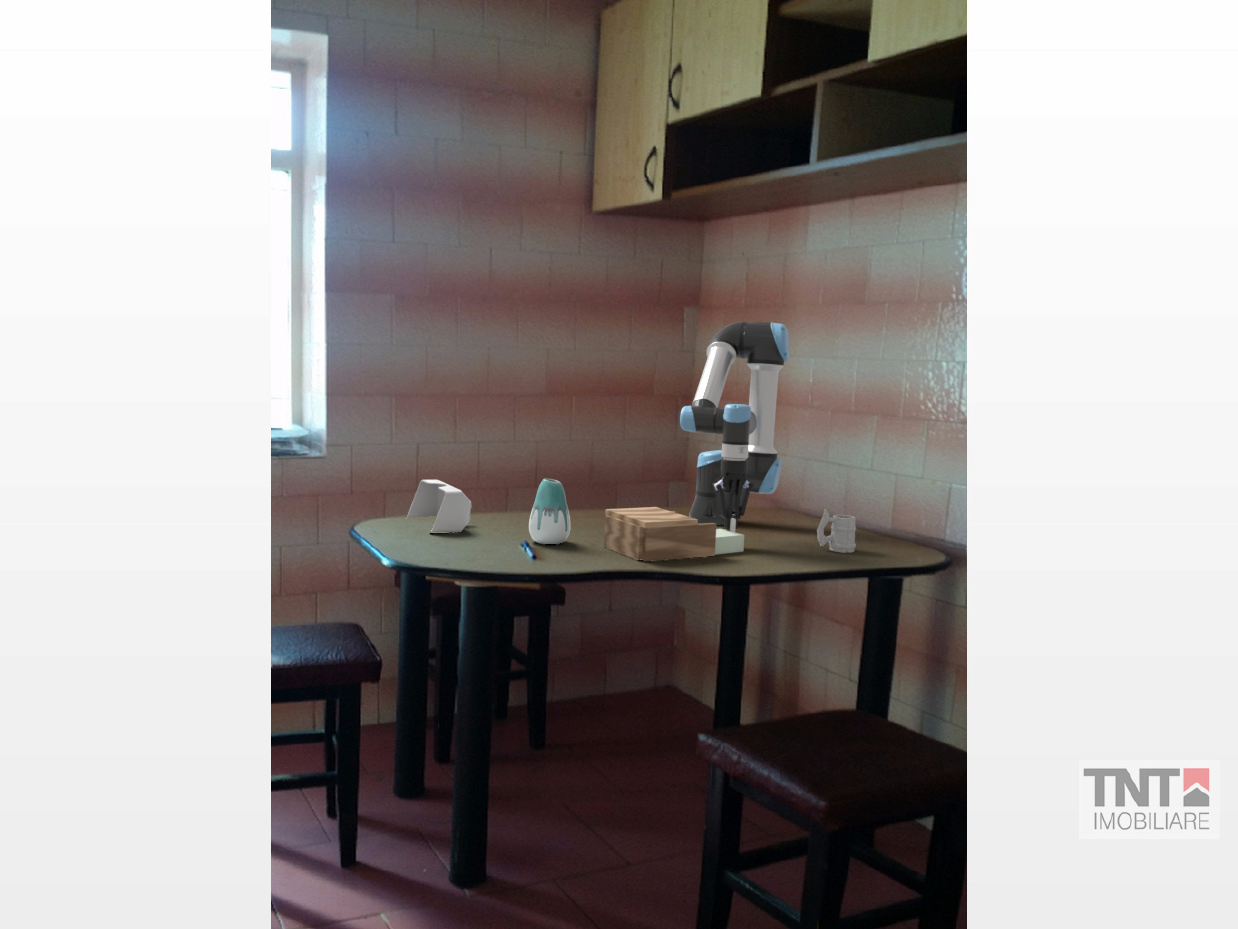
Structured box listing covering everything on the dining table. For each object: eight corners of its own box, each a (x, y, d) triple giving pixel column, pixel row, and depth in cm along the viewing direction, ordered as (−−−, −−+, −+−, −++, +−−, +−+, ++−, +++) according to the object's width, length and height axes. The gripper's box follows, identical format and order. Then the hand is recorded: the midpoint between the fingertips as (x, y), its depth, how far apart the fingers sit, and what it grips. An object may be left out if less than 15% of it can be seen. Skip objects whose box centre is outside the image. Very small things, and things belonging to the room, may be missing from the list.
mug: (860, 553, 301) (863, 511, 300) (821, 553, 299) (824, 511, 297) (848, 547, 309) (851, 507, 307) (810, 547, 306) (813, 506, 305)
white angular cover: (483, 533, 306) (485, 490, 304) (429, 535, 298) (431, 491, 297) (456, 518, 328) (457, 478, 326) (405, 520, 320) (406, 479, 319)
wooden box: (601, 546, 293) (603, 509, 291) (672, 542, 305) (674, 506, 303) (640, 562, 275) (642, 522, 274) (714, 556, 287) (716, 518, 285)
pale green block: (665, 551, 292) (666, 531, 291) (719, 545, 304) (720, 526, 303) (688, 558, 284) (689, 537, 283) (743, 552, 296) (744, 532, 295)
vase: (576, 542, 298) (579, 479, 296) (557, 548, 287) (560, 483, 285) (540, 537, 303) (543, 475, 301) (520, 543, 292) (522, 479, 290)
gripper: (723, 460, 292) (719, 544, 295) (761, 460, 299) (755, 541, 302) (708, 457, 299) (703, 539, 302) (744, 456, 305) (740, 537, 308)
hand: (729, 540), depth 302 cm, fingers closed
